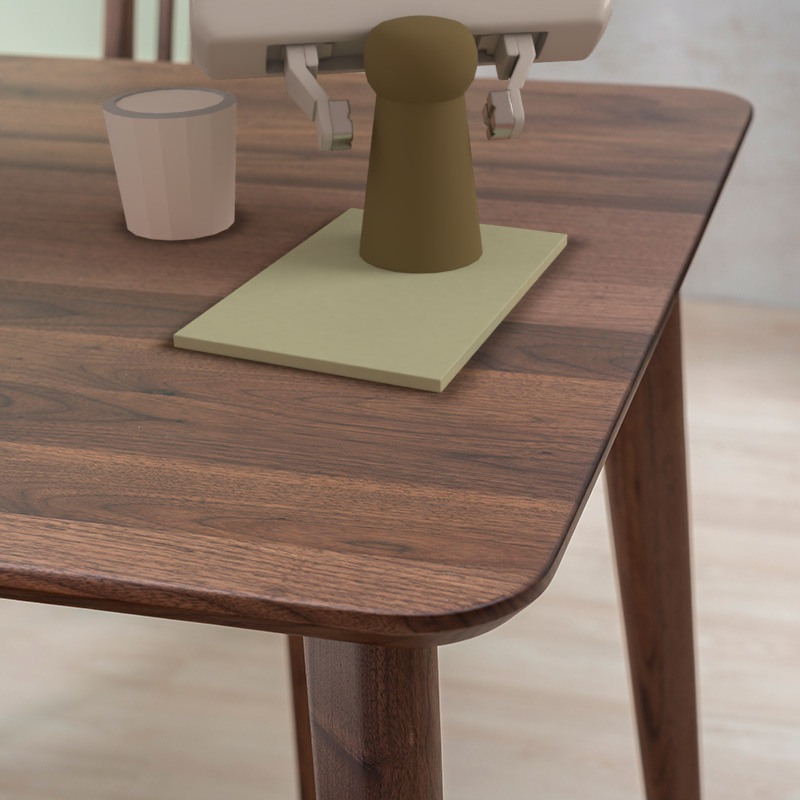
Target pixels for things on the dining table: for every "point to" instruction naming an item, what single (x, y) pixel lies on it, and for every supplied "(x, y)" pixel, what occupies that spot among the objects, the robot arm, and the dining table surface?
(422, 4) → the robot arm
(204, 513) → the dining table surface
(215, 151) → the pale pink cup
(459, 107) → the cork
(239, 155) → the dining table surface
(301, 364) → the mat
